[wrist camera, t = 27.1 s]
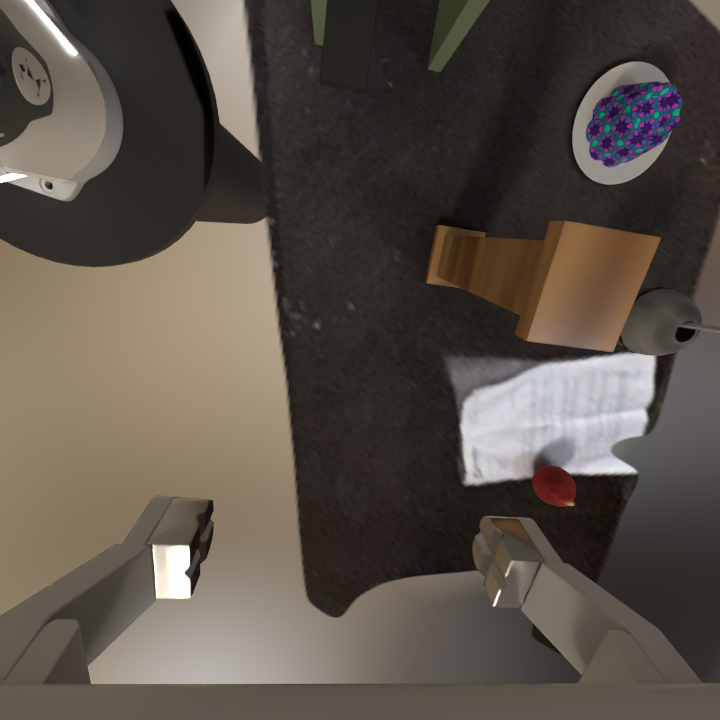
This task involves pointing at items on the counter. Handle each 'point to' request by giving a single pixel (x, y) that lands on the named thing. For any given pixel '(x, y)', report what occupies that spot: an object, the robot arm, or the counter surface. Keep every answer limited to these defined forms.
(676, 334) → the beverage cup
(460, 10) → the low bench
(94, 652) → the robot arm
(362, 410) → the counter surface
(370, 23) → the black pad
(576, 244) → the tall stand
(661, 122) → the pudding
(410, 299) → the counter surface
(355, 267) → the counter surface
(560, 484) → the onion
